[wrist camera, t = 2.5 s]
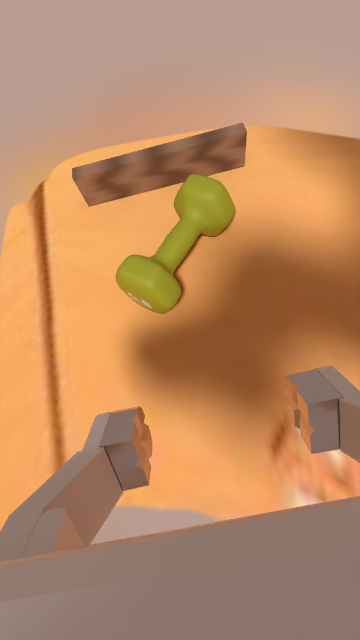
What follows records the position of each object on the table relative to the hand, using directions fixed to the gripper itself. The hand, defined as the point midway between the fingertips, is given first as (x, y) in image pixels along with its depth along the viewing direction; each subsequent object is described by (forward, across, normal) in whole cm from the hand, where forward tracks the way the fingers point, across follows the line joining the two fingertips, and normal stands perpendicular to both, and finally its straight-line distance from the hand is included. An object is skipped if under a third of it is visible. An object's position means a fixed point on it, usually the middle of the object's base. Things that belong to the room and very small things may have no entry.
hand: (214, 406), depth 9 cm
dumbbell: (+28, 0, 0) cm, 28 cm away
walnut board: (+39, 0, -11) cm, 40 cm away
